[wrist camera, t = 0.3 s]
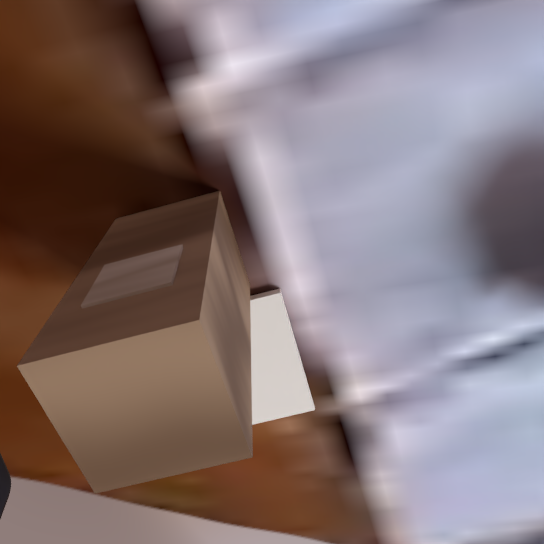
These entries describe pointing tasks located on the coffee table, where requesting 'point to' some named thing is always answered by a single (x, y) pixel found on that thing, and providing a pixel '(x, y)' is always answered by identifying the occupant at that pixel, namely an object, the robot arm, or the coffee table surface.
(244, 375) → the cardboard box
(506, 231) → the coffee table surface
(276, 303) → the felt mat
